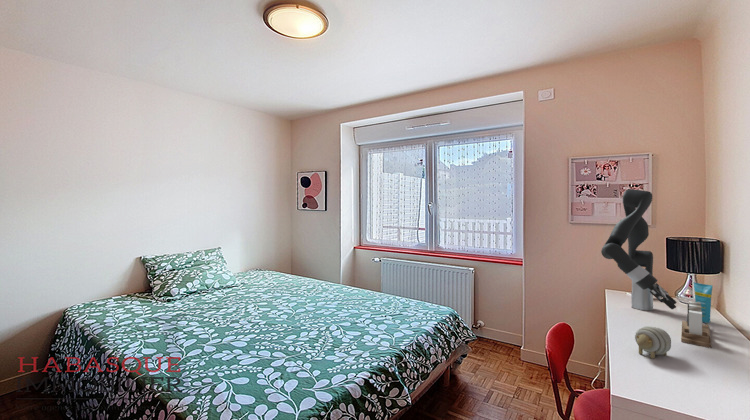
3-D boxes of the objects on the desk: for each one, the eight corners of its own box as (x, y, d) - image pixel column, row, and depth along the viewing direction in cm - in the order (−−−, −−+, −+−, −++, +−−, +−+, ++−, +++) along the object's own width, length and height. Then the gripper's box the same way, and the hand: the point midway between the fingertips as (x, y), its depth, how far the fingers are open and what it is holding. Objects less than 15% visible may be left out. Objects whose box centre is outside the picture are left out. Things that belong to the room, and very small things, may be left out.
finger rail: (681, 341, 137) (680, 313, 137) (682, 323, 157) (681, 298, 157) (711, 347, 131) (711, 318, 130) (708, 328, 150) (708, 302, 150)
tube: (691, 319, 162) (690, 282, 161) (696, 318, 164) (695, 281, 163) (710, 324, 155) (710, 285, 155) (715, 322, 157) (715, 284, 156)
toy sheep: (626, 353, 128) (626, 326, 128) (649, 345, 135) (649, 319, 134) (658, 365, 118) (658, 335, 118) (681, 355, 125) (681, 327, 125)
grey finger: (687, 336, 139) (687, 311, 139) (687, 334, 141) (687, 309, 141) (702, 339, 136) (701, 313, 135) (702, 337, 138) (701, 312, 137)
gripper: (647, 275, 144) (682, 305, 136) (649, 270, 154) (682, 297, 146) (632, 284, 147) (666, 314, 139) (635, 279, 157) (667, 306, 150)
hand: (674, 305), depth 143 cm, fingers open, 8 cm apart
